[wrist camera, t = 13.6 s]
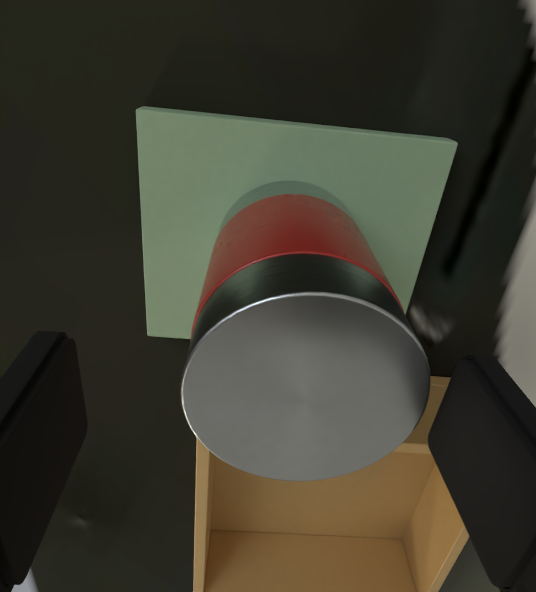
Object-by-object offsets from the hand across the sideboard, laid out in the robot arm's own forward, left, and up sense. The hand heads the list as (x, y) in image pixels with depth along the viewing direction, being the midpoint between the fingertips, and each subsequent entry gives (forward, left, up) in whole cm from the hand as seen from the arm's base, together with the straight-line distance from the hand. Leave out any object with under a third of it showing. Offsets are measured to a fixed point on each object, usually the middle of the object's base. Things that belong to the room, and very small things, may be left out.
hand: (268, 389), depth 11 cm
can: (+1, 0, -9) cm, 9 cm away
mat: (+1, 0, -10) cm, 10 cm away
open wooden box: (+5, -14, -10) cm, 18 cm away
